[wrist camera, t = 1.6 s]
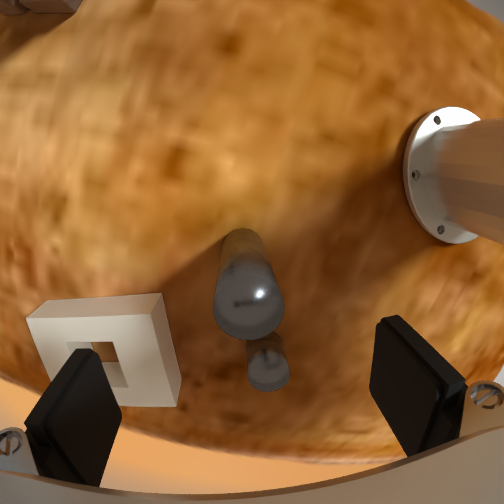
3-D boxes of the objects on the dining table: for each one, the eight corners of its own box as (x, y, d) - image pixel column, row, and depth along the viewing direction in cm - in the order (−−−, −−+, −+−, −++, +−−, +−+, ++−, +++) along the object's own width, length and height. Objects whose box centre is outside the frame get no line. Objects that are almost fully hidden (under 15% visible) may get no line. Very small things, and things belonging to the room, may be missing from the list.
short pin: (281, 328, 27) (289, 356, 22) (283, 358, 28) (290, 389, 23) (244, 332, 27) (246, 362, 22) (248, 362, 28) (250, 393, 23)
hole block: (161, 292, 25) (150, 313, 21) (182, 379, 28) (176, 406, 24) (47, 300, 25) (25, 318, 21) (75, 377, 27) (60, 400, 23)
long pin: (261, 226, 24) (282, 272, 14) (264, 266, 25) (285, 335, 15) (219, 230, 24) (208, 280, 14) (224, 270, 25) (218, 343, 14)
